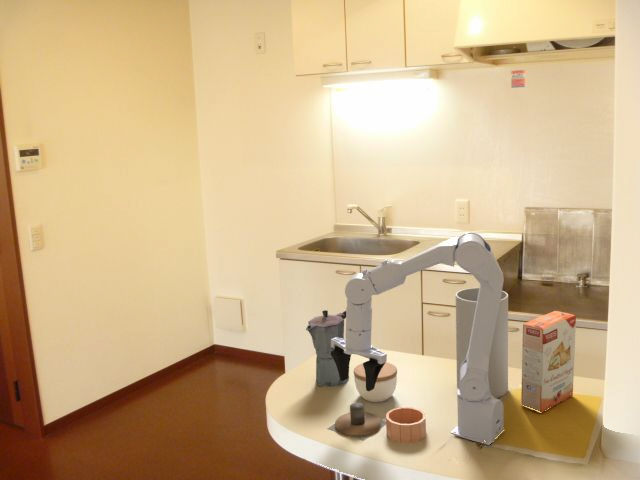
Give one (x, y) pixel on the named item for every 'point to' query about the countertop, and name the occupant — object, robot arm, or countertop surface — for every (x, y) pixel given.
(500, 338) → the cylinder vase
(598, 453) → the countertop surface
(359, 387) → the lidded jar
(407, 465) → the countertop surface
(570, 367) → the cracker box
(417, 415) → the planter
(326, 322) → the moka pot
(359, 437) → the mat
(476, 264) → the robot arm
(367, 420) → the lid
